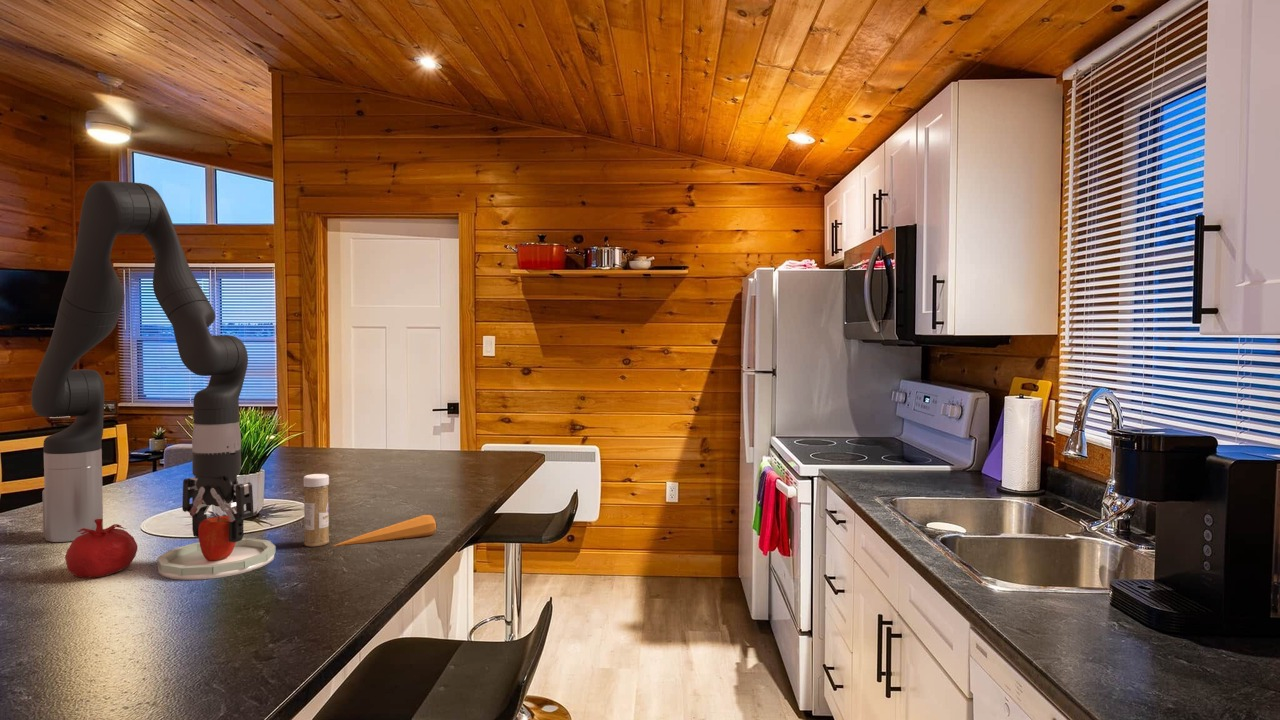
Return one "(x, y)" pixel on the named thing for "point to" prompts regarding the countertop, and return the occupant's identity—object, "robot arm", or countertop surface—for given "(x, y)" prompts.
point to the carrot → (398, 531)
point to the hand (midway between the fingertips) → (217, 538)
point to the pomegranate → (100, 551)
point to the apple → (215, 538)
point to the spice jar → (316, 509)
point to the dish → (194, 565)
